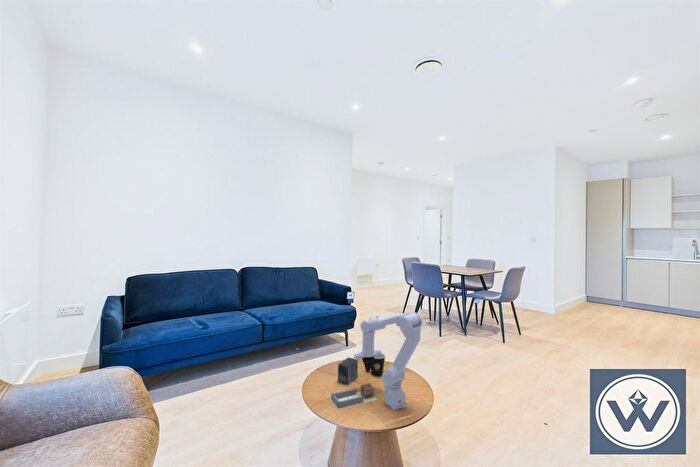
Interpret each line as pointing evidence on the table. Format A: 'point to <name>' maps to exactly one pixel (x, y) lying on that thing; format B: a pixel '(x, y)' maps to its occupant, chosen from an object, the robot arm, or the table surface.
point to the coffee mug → (378, 365)
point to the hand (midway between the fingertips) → (367, 371)
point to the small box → (347, 371)
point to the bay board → (348, 398)
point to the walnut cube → (367, 391)
